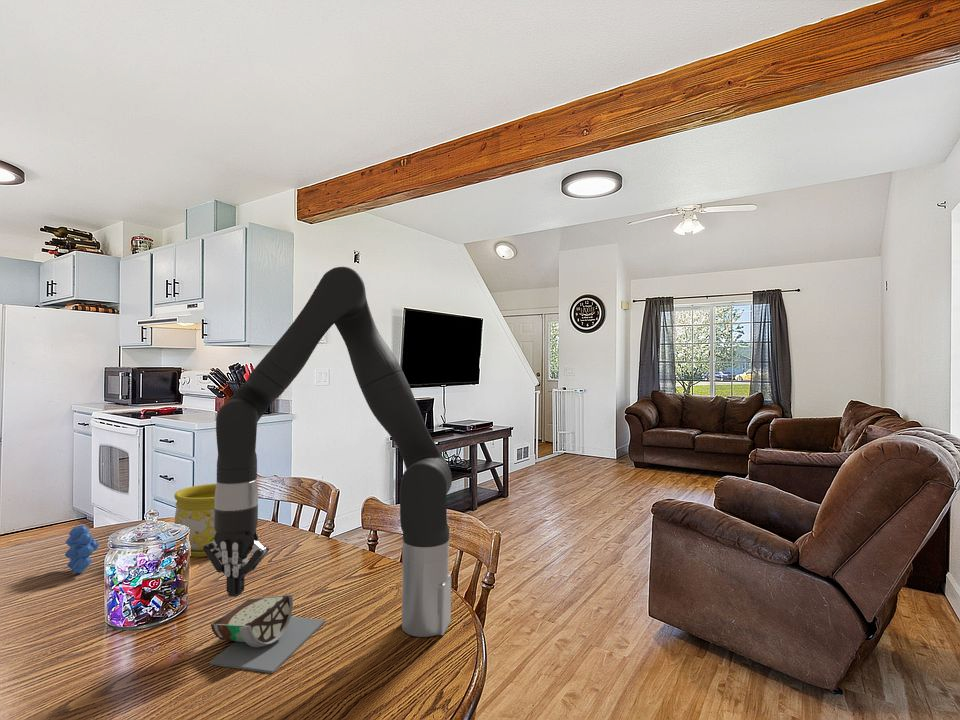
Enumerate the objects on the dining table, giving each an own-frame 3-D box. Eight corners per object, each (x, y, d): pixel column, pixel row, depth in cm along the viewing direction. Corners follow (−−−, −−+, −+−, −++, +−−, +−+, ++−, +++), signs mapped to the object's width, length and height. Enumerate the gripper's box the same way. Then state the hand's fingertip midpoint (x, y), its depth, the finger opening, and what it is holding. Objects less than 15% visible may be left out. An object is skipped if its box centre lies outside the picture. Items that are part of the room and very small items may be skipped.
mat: (324, 622, 106) (324, 620, 106) (272, 673, 89) (272, 671, 89) (270, 615, 109) (270, 613, 109) (209, 664, 91) (209, 662, 91)
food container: (210, 662, 94) (255, 662, 91) (203, 628, 94) (248, 627, 91) (258, 625, 106) (299, 624, 103) (253, 595, 106) (293, 593, 103)
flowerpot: (259, 546, 150) (260, 488, 150) (197, 566, 134) (198, 502, 134) (222, 534, 159) (223, 480, 159) (160, 552, 144) (161, 492, 144)
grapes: (109, 573, 129) (110, 524, 129) (76, 582, 124) (77, 531, 124) (90, 562, 136) (91, 516, 136) (58, 570, 130) (59, 522, 131)
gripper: (279, 500, 103) (278, 590, 103) (219, 496, 105) (218, 583, 105) (255, 511, 95) (254, 607, 95) (192, 506, 98) (190, 600, 98)
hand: (235, 594), depth 100 cm, fingers closed
